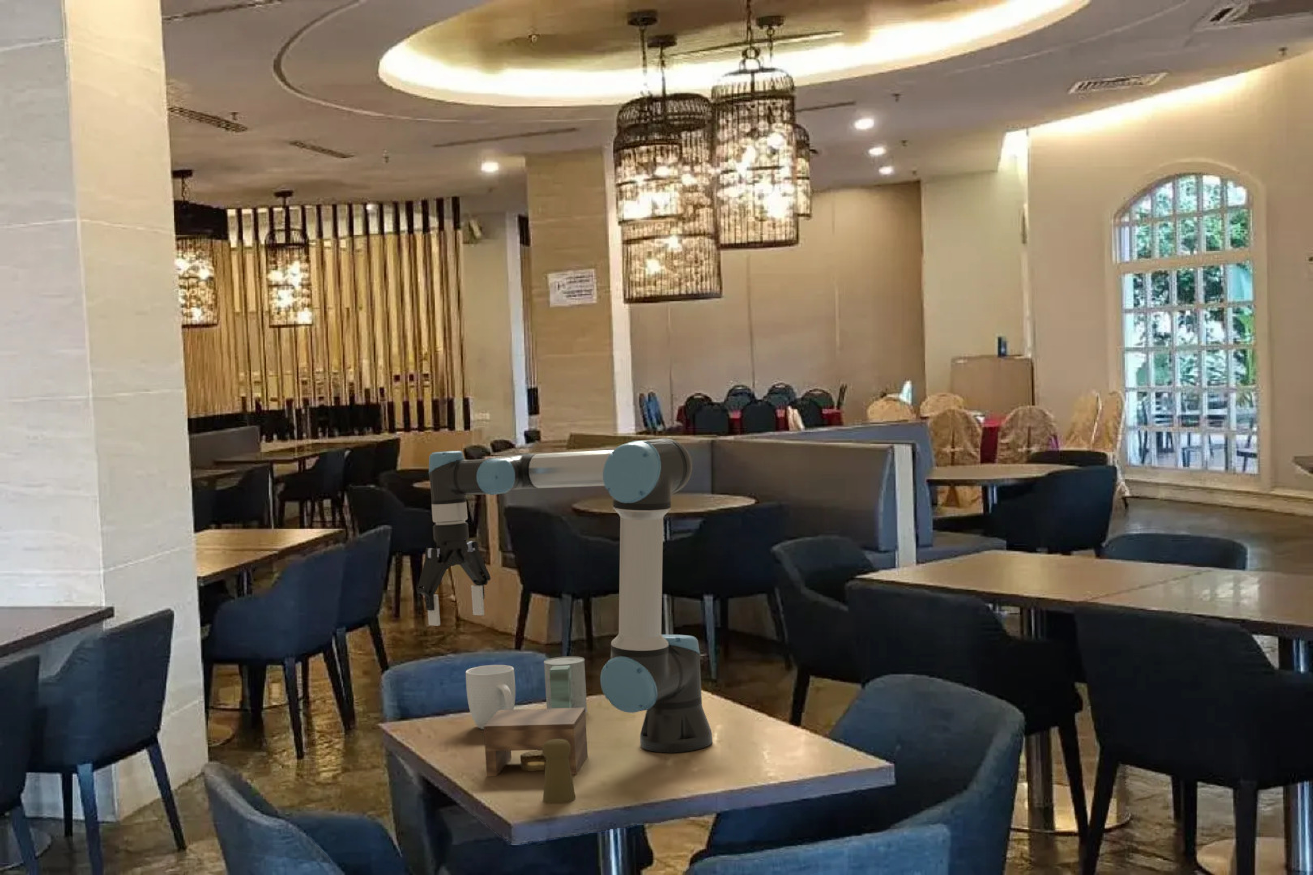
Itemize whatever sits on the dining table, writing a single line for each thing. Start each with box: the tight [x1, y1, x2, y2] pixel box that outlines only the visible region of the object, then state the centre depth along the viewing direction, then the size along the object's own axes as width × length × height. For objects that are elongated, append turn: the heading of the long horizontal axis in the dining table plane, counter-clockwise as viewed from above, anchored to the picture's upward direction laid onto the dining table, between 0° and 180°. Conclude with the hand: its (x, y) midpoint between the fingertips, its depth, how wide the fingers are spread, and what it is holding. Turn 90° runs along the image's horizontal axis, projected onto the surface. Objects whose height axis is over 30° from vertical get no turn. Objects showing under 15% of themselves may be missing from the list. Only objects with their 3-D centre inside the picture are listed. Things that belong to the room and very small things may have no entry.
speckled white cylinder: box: [543, 656, 588, 714], centre depth 339 cm, size 10×10×12 cm
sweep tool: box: [550, 666, 573, 708], centre depth 312 cm, size 24×4×14 cm, turn 174°
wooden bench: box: [483, 708, 589, 777], centre depth 292 cm, size 18×14×10 cm
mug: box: [465, 664, 516, 730], centre depth 327 cm, size 15×11×13 cm
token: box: [519, 750, 546, 772], centre depth 293 cm, size 7×7×2 cm
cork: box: [542, 739, 576, 805], centre depth 268 cm, size 6×6×11 cm
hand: (456, 620), depth 314 cm, fingers open, 13 cm apart
